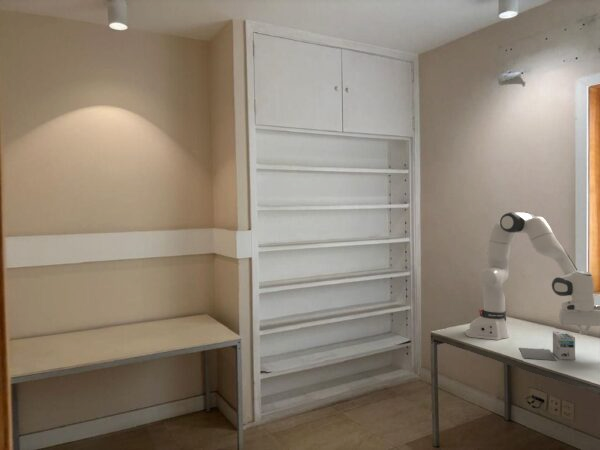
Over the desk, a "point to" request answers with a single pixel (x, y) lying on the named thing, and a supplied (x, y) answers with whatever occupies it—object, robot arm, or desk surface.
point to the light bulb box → (564, 345)
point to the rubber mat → (537, 354)
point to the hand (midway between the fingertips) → (583, 334)
